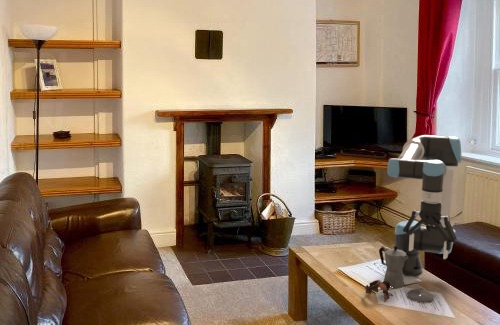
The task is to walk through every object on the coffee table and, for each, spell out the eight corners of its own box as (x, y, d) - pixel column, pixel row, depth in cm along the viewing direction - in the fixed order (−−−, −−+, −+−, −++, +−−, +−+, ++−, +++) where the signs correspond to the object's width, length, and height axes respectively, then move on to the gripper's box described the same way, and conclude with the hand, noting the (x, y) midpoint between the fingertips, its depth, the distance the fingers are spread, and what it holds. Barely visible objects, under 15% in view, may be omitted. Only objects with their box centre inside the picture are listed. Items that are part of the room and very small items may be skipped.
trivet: (406, 290, 237) (406, 288, 237) (433, 293, 234) (433, 290, 234) (406, 300, 227) (407, 298, 226) (434, 304, 224) (434, 301, 223)
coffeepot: (412, 286, 241) (415, 247, 237) (399, 292, 235) (401, 252, 232) (384, 275, 253) (386, 238, 249) (371, 280, 247) (373, 243, 243)
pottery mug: (382, 305, 223) (373, 288, 224) (367, 307, 231) (358, 290, 231) (399, 291, 230) (390, 273, 230) (384, 293, 238) (375, 276, 238)
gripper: (396, 197, 212) (393, 249, 216) (461, 209, 196) (457, 264, 201) (404, 193, 217) (401, 244, 222) (468, 204, 202) (463, 258, 206)
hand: (427, 253), depth 211 cm, fingers open, 13 cm apart
